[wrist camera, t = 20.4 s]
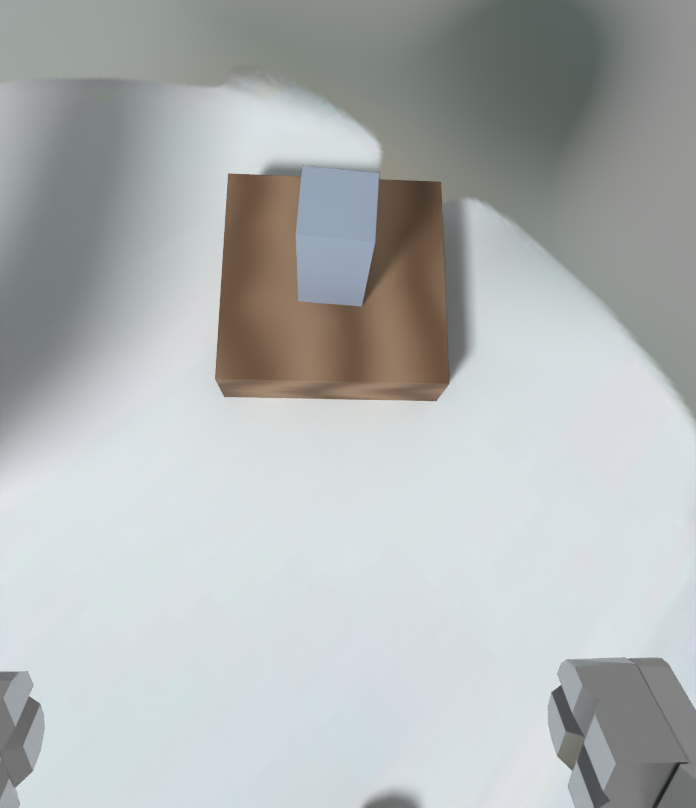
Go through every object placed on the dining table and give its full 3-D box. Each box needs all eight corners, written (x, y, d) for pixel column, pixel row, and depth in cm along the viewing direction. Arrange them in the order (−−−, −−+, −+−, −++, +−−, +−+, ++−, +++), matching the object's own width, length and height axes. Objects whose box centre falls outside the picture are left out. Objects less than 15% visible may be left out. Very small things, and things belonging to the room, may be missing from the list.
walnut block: (225, 398, 46) (215, 378, 41) (236, 211, 50) (228, 173, 45) (434, 402, 47) (449, 383, 42) (428, 218, 51) (441, 181, 46)
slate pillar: (298, 301, 43) (295, 234, 34) (303, 243, 44) (302, 165, 35) (361, 306, 43) (375, 241, 34) (365, 249, 44) (379, 172, 35)
